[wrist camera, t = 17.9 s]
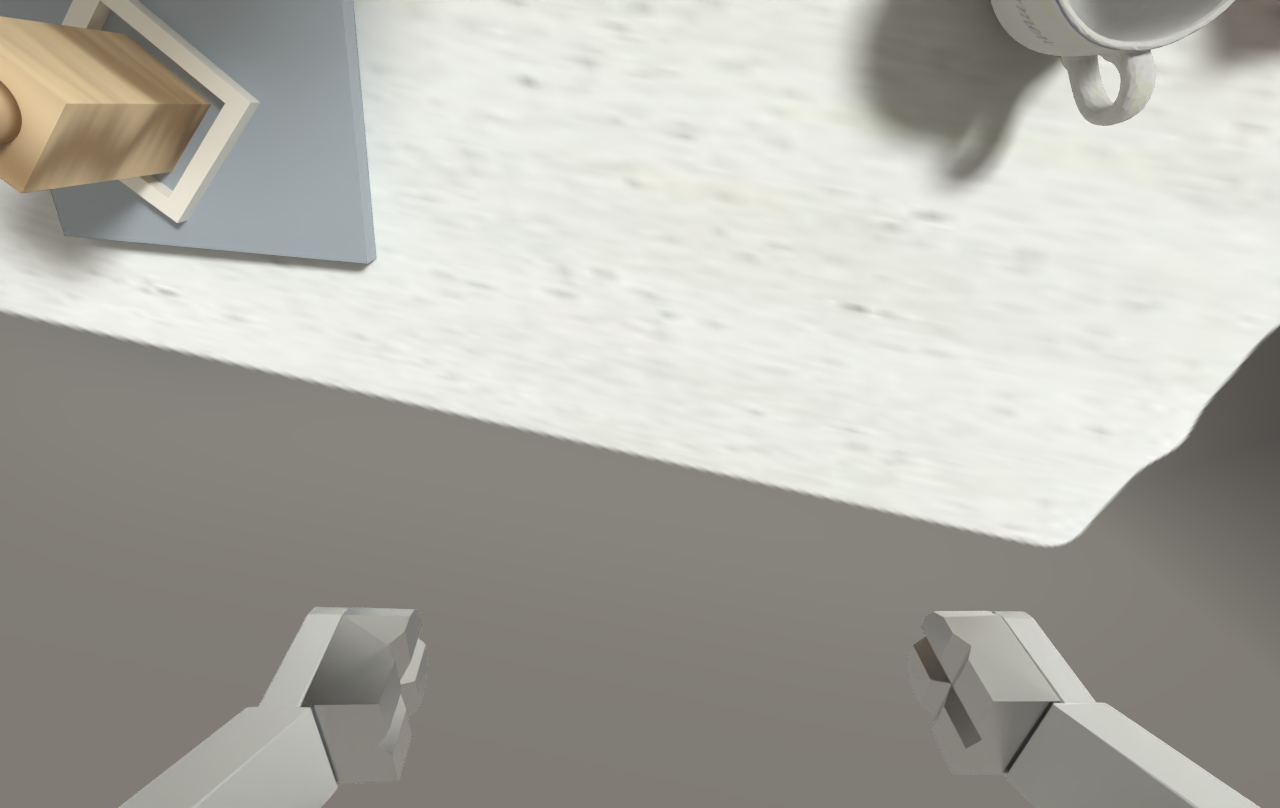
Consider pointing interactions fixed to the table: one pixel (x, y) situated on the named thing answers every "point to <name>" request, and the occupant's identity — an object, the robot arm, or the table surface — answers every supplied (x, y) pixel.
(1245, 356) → the table surface
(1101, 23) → the teacup
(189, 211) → the socket frame
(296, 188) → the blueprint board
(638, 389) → the table surface
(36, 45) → the oak pillar
